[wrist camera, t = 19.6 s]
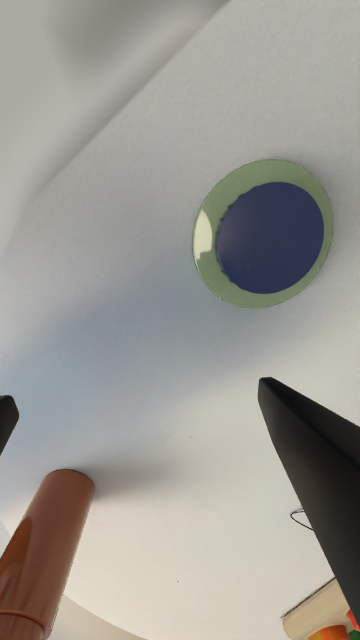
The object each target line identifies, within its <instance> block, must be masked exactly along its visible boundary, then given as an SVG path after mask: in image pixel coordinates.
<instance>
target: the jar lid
mask: <svg viewBox="0 0 360 640" xmlns="http://www.w3.org/2000/svg"><path fill="white" fill-rule="evenodd" d="M227 208H228V209H227V210H226V211H225V213H224V214H223V216H222V218H220V219H219V220H220V222H219V225H218V228H217V231H216V232H215V234H216V236H215V246H214V248H215V254H216V258H217V259H216V261H217V262H218V264H219V266H220V268H221V272H222V273H223V274H225V276H226V277H227V278H228V279H229V281H230V282H231V283H234V284H236V285H237V286H238V287H239V288H240V289H242V290H246V291H248V292H251V293H254V294H255V293H256V294H271V293H276V292H280V291H283V290H285V289H287V288H289V287H291V286H293V285H294V284H296V283H297V282H298V281H300V280H301V279H302V278H303V277H304V276H305V275H306V274H307V273H308V272H309V271H310V269H311V268H312V266H313V265H314V263H315V262H316V260H317V258H318V256H319V253H320V251H321V248H322V244H323V239H324V222H323V217H322V213H321V211H320V208H319V206H318V204H317V202H316V201H315V200H314V198H313V197H312V196H311V195H310V194H309V193H308V192H307V191H305V190H304V189H302V188H301V187H299V186H297V185H294V184H291V183H286V182H269V183H265V184H262V185H259V186H257V185H256V186H255V187H253V188H251V190H249V191H248V192H246V193H242V194H241V195H239V196H238V198H237V199H236V200H235V201H234V202H233V203H232V204H231V205H229V206H228V207H227Z"/></svg>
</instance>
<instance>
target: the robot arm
mask: <svg viewBox="0 0 360 640" xmlns="http://www.w3.org/2000/svg"><path fill="white" fill-rule="evenodd" d="M258 402H259V405H260V408H261V411H262V414H263V417H264V420H265V422H266V425H267V428H268V431H269V434H270V437H271V440H272V442H273V445H274V447H275V449H276V451H277V454H278V456H279V458H280V460H281V462H282V464H283V466H284V469H285V471H286V473H287V475H288V477H289V479H290V481H291V484H292V486H293V488H294V490H295V492H296V494H297V496H298V498H299V501H300V503H301V505H302V507H303V509H304V511H305V513H306V516H307V518H308V520H309V522H310V524H311V526H312V528H313V531H314V533H315V535H316V537H317V539H318V541H319V543H320V545H321V548H322V550H323V552H324V554H325V556H326V558H327V560H328V563H329V565H330V567H331V569H332V571H333V573H334V575H335V578H336V580H337V582H338V584H339V586H340V588H341V590H342V593H343V595H344V597H345V599H346V601H347V603H348V605H349V607H350V610H351V612H352V614H353V616H354V618H355V620H356V622H357V625H358V627H359V629H360V427H359V426H357V425H355V424H354V423H352V422H350V421H348V420H346V419H345V418H343V417H341V416H339V415H338V414H336V413H334V412H332V411H331V410H329V409H327V408H325V407H324V406H322V405H320V404H318V403H316V402H315V401H313V400H311V399H309V398H308V397H306V396H304V395H302V394H301V393H299V392H297V391H295V390H293V389H292V388H290V387H288V386H286V385H285V384H283V383H281V382H279V381H278V380H276V379H274V378H272V377H264V378H260V380H259V387H258ZM18 419H19V412H18V409H17V406H16V404H15V401H14V399H13V397H12V396H10V395H4V396H0V455H1V453H2V451H3V449H4V447H5V445H6V443H7V441H8V439H9V437H10V435H11V433H12V431H13V429H14V427H15V425H16V423H17V421H18Z"/></svg>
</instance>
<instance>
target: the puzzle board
mask: <svg viewBox="0 0 360 640" xmlns="http://www.w3.org/2000/svg"><path fill="white" fill-rule="evenodd" d="M283 628H284V631H285V633H286V635H287V636H288V637H289V638H290V639H291V640H360V629H359V627H358V625H357V622H356V620H355V618H354V616H353V614H352V612H351V610H350V607H349V605H348V603H347V601H346V599H345V597H344V595H343V593H342V590H341V588H340V586H339V584H338V582H337V580H336V578H335V579H334V580H332V581H331V582H330V583H329V584H327V585H326V586H325V587H323V588H322V589H320V590H319V591H318V592H316V593H315V594H314V595H313V596H311V597H310V598H309V599H307V600H306V601H305V602H303V603H302V604H301V605H299V606H298V607H297V608H295V609H294V610H293V611H291V612H290V613H288V614H287V615H286V616H284V618H283Z"/></svg>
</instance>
